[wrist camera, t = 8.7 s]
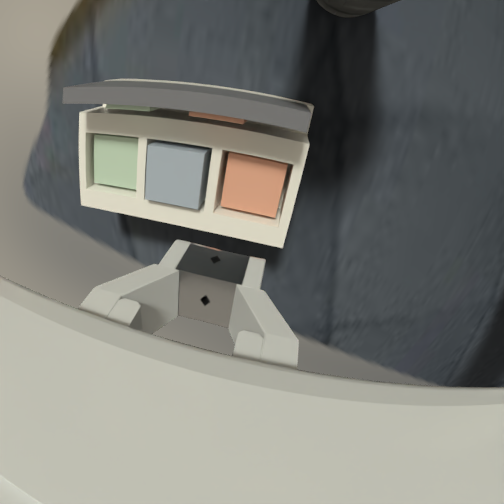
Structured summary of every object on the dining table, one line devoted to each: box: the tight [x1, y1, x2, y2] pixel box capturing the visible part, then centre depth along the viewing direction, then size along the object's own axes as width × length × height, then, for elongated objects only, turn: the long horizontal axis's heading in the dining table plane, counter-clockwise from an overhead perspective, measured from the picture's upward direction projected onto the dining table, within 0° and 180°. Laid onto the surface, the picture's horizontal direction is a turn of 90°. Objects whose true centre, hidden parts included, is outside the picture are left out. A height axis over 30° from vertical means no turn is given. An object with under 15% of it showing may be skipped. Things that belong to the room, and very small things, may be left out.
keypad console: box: [63, 79, 314, 248], centre depth 19 cm, size 15×9×8 cm, turn 80°
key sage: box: [94, 133, 139, 190], centre depth 20 cm, size 4×4×2 cm
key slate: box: [145, 140, 212, 210], centre depth 19 cm, size 4×4×2 cm
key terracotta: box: [221, 151, 288, 218], centre depth 20 cm, size 4×4×2 cm
